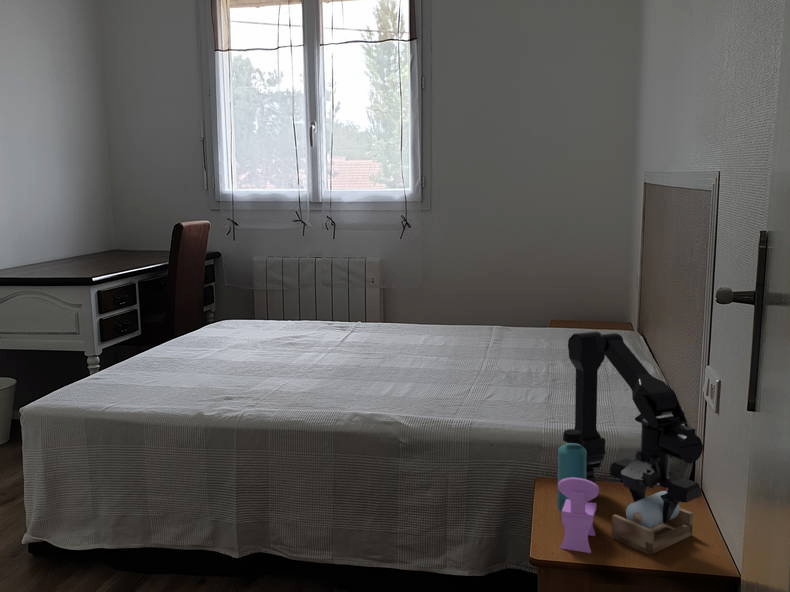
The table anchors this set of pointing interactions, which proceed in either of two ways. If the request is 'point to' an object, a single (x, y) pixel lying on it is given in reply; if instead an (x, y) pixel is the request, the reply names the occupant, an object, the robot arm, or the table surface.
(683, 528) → the holder
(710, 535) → the table surface
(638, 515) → the roll
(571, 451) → the beverage bottle
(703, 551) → the table surface
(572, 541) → the toy chair
